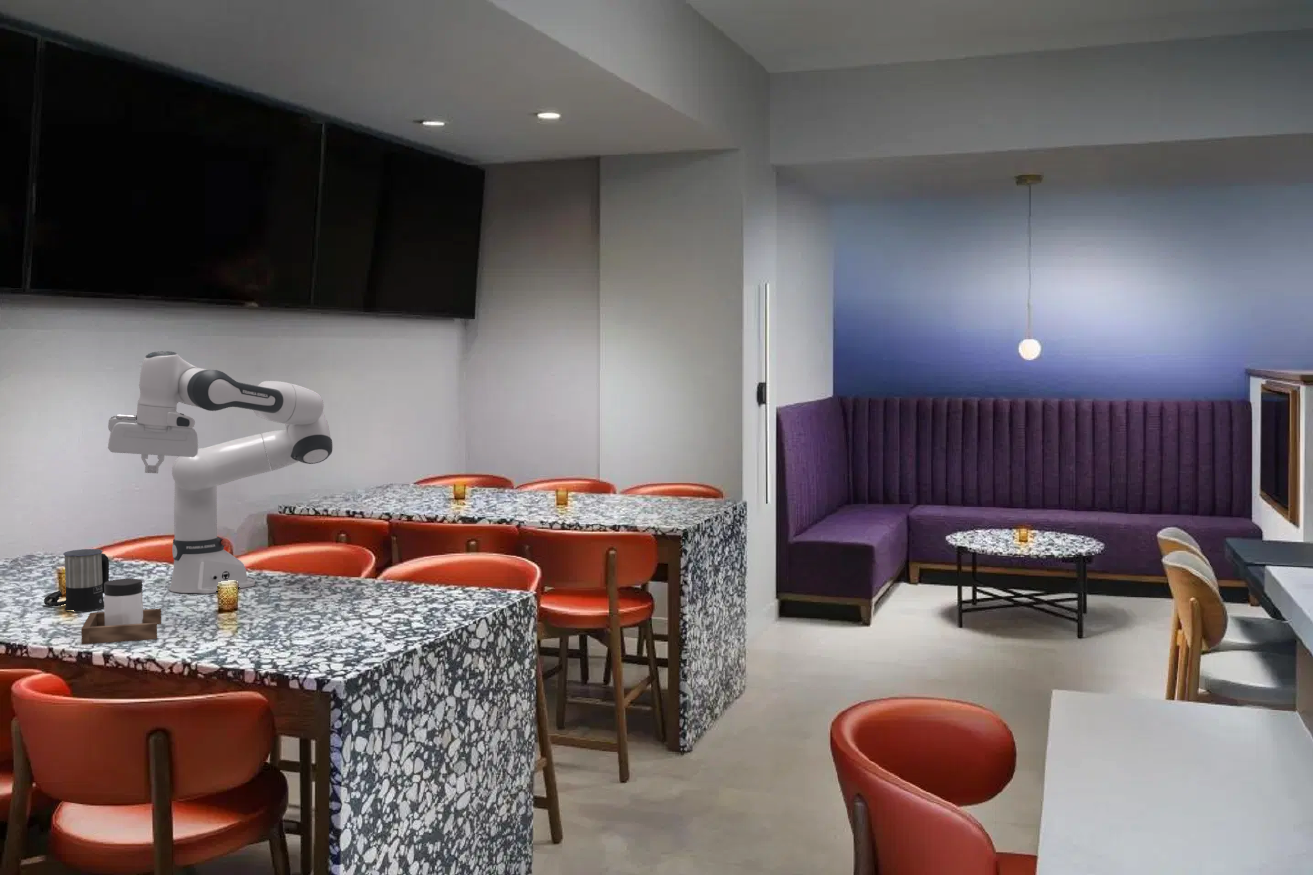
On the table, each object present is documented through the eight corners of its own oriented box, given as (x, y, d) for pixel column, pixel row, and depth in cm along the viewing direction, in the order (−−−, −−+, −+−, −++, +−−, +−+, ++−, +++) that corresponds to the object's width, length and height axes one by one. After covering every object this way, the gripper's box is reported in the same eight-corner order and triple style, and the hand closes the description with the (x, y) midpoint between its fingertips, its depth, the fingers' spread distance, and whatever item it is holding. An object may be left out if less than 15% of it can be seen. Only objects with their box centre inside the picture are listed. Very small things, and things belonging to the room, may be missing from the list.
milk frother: (98, 612, 289) (97, 554, 288) (31, 614, 286) (29, 555, 285) (114, 600, 303) (112, 545, 302) (49, 602, 300) (48, 546, 299)
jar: (142, 635, 266) (140, 584, 265) (103, 637, 263) (102, 586, 262) (144, 626, 274) (143, 577, 273) (107, 629, 271) (106, 579, 271)
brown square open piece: (161, 622, 278) (160, 608, 278) (156, 638, 262) (156, 623, 262) (90, 627, 273) (90, 612, 273) (81, 644, 257) (81, 628, 257)
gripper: (109, 414, 272) (105, 472, 273) (201, 421, 282) (196, 476, 283) (108, 412, 278) (104, 468, 279) (198, 419, 288) (193, 473, 289)
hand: (151, 472), depth 281 cm, fingers closed
